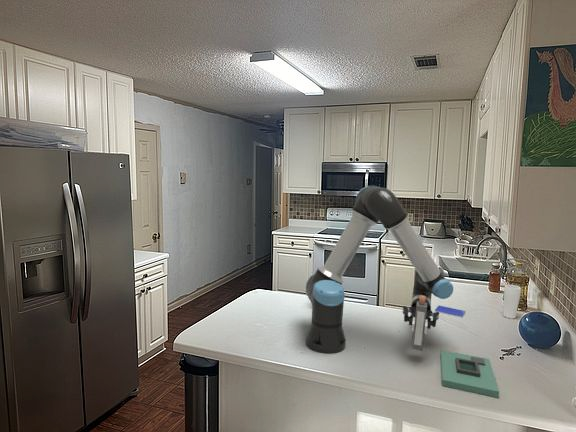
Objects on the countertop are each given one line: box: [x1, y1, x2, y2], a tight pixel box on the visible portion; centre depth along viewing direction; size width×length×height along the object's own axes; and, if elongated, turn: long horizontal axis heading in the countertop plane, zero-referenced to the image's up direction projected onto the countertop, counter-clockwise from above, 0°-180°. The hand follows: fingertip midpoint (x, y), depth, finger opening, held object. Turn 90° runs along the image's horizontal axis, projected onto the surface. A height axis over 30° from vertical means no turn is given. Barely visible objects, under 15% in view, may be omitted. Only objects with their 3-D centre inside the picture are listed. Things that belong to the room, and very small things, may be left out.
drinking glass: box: [502, 283, 522, 320], centre depth 186 cm, size 7×7×15 cm
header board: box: [440, 349, 500, 398], centre depth 132 cm, size 22×16×3 cm
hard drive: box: [434, 305, 466, 319], centre depth 190 cm, size 2×8×12 cm
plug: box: [411, 295, 427, 352], centre depth 140 cm, size 5×4×19 cm, turn 160°
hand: (419, 328), depth 135 cm, fingers closed on plug, 3 cm apart
